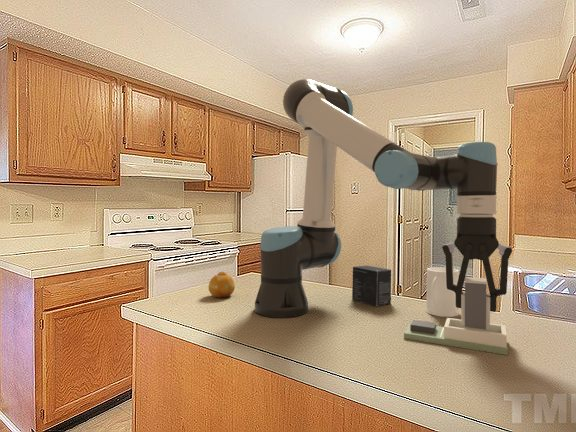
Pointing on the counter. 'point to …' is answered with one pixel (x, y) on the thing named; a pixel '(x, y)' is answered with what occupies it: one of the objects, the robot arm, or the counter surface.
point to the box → (371, 285)
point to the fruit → (221, 285)
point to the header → (475, 333)
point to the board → (436, 335)
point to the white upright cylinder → (441, 293)
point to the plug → (475, 302)
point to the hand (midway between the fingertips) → (475, 324)
